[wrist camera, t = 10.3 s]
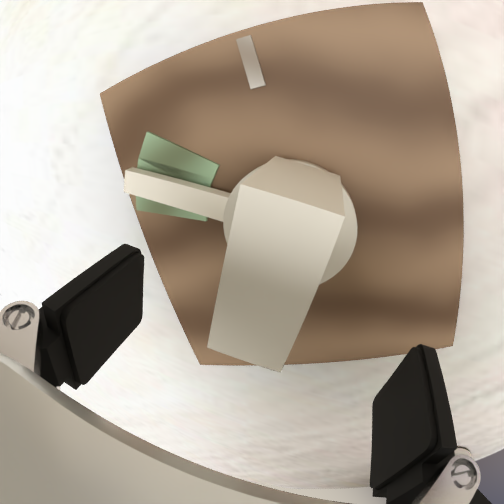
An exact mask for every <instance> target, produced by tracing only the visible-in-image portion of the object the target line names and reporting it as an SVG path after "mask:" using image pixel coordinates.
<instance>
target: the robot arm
mask: <svg viewBox="0 0 504 504" xmlns="http://www.w3.org/2000/svg"><path fill="white" fill-rule="evenodd" d="M143 274H144V256H143V255H142V254H141V251H140V249H138V248H135V247H133V246H130V245H128V244H123V245H121V246H120V247H118V248H117V249H115V250H114V251H113V252H111V253H110V254H108V255H107V256H105V257H104V258H102V259H101V260H100V261H98V262H97V263H95V264H94V265H92V266H91V267H90V268H88V269H87V270H85V271H84V272H83V273H81V274H80V275H78V276H77V277H76V278H74V279H73V280H72V281H70V282H69V283H67V284H66V285H65V286H63V287H62V288H61V289H59V290H58V291H57V292H55V293H54V294H53V295H51V296H50V297H49V298H47V299H46V300H45V301H44V302H42V307H41V308H40V309H39V310H38V308H37V307H36V306H35V305H34V304H33V303H30V302H28V301H16V302H13V303H10V304H9V305H7V306H5V307H4V308H3V309H2V310H1V312H0V504H349V503H342V502H335V501H329V500H323V499H317V498H312V497H307V496H301V495H297V494H293V493H289V492H284V491H280V490H276V489H272V488H268V487H265V486H261V485H258V484H254V483H251V482H247V481H244V480H241V479H238V478H235V477H232V476H229V475H226V474H223V473H220V472H217V471H214V470H212V469H209V468H206V467H204V466H201V465H199V464H196V463H194V462H191V461H189V460H186V459H184V458H181V457H179V456H177V455H174V454H172V453H170V452H168V451H166V450H163V449H161V448H159V447H157V446H155V445H153V444H151V443H149V442H147V441H145V440H143V439H141V438H139V437H137V436H135V435H133V434H131V433H129V432H127V431H125V430H123V429H122V428H120V427H118V426H116V425H114V424H113V423H111V422H109V421H107V420H106V419H104V418H102V417H101V416H99V415H97V414H96V413H94V412H92V411H91V410H89V409H88V408H86V407H84V406H83V405H81V404H80V403H78V402H77V401H75V400H73V399H72V398H70V397H69V396H67V395H66V394H64V393H63V392H61V391H60V386H61V385H62V384H63V383H64V382H65V383H67V384H68V385H69V386H71V387H72V388H74V389H75V390H77V388H78V387H79V386H80V385H81V384H82V385H85V384H86V383H87V382H88V381H89V380H90V379H91V378H92V377H93V376H94V374H95V373H96V372H97V371H98V370H99V369H100V368H101V366H102V365H103V364H104V363H105V362H106V361H107V360H108V358H109V357H110V356H111V355H112V354H113V353H114V352H115V351H116V349H117V348H118V347H119V346H120V345H121V344H122V343H123V342H124V340H125V339H126V338H127V337H128V336H129V335H130V334H131V333H132V332H133V330H134V329H135V328H136V327H137V326H138V325H139V324H140V322H141V319H142V312H143ZM480 476H481V474H480V470H479V467H478V465H477V463H476V462H475V461H474V460H473V459H472V458H471V453H470V452H469V451H468V450H466V449H463V448H457V443H456V437H455V431H454V425H453V420H452V415H451V410H450V405H449V401H448V396H447V392H446V388H445V383H444V379H443V375H442V371H441V368H440V364H439V360H438V357H437V353H436V350H435V348H433V347H429V346H426V345H422V344H419V345H417V346H416V347H412V348H411V349H410V351H409V352H408V354H407V355H406V356H405V358H404V359H403V361H402V362H401V364H400V365H399V366H398V368H397V369H396V370H395V372H394V373H393V374H392V376H391V377H390V378H389V380H388V381H387V382H386V384H385V385H384V386H383V388H382V389H381V390H380V391H379V393H378V394H377V395H376V397H375V398H374V401H373V406H372V455H371V473H370V487H371V488H373V497H386V498H387V500H386V504H491V502H490V501H488V500H487V498H486V497H485V496H484V495H483V494H482V493H481V492H480V491H479V490H478V489H477V488H478V486H479V483H480Z"/></svg>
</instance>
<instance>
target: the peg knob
mask: <svg viewBox="0 0 504 504" xmlns="http://www.w3.org/2000/svg"><path fill="white" fill-rule="evenodd" d="M124 192H125V193H128V194H132V195H135V196H139V197H142V198H145V199H149V200H152V201H156V202H159V203H162V204H166V205H169V206H172V207H176V208H179V209H182V210H186V211H189V212H192V213H196V214H199V215H202V216H205V217H209V218H212V219H215V220H218V221H222V222H223V228H224V235H225V238H226V242H227V249H226V254H225V259H224V264H223V268H222V273H221V278H220V283H219V288H218V293H217V298H216V303H215V308H214V314H213V319H212V324H211V329H210V334H209V340H208V345H207V348H210V349H212V350H215V351H218V352H220V353H223V354H226V355H229V356H232V357H234V358H237V359H240V360H243V361H246V362H249V363H252V364H255V365H258V366H261V367H264V368H267V369H270V370H274V371H277V372H281V370H282V368H283V366H284V364H285V362H286V359H287V357H288V355H289V353H290V351H291V349H292V346H293V344H294V342H295V340H296V338H297V335H298V333H299V331H300V328H301V326H302V324H303V322H304V319H305V317H306V315H307V312H308V310H309V308H310V305H311V303H312V300H313V298H314V296H315V293H316V291H317V288H318V286H319V284H321V283H323V282H325V281H327V280H329V279H330V278H332V277H333V276H335V275H336V274H337V273H338V272H339V271H340V270H341V269H342V268H343V267H344V266H345V265H346V263H347V262H348V260H349V259H350V257H351V255H352V253H353V250H354V247H355V244H356V239H357V219H356V213H355V209H354V206H353V202H352V200H351V198H350V195H349V194H348V192H347V190H346V189H345V187H344V186H343V185H342V184H341V178H340V175H337V174H334V173H331V172H328V171H327V170H326V169H324V168H322V167H320V166H318V165H316V164H313V163H310V162H307V161H303V160H295V159H285V158H281V157H278V156H275V157H273V158H272V159H271V160H270V161H268V162H267V163H266V164H264V165H262V166H260V167H258V168H256V169H255V170H253V171H252V172H250V173H249V174H248V175H246V176H245V177H244V178H243V179H242V180H241V181H240V182H239V183H238V184H237V185H236V186H235V188H234V189H233V191H232V192H231V193H228V192H225V191H221V190H218V189H214V188H210V187H207V186H203V185H200V184H196V183H192V182H189V181H185V180H181V179H177V178H173V177H170V176H166V175H162V174H158V173H154V172H150V171H146V170H142V169H138V168H134V167H132V168H129V169H127V170H125V180H124Z"/></svg>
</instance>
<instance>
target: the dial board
mask: <svg viewBox="0 0 504 504" xmlns="http://www.w3.org/2000/svg"><path fill="white" fill-rule="evenodd" d="M100 96H101V100H102V104H103V108H104V112H105V116H106V120H107V123H108V127H109V130H110V134H111V137H112V141H113V144H114V148H115V151H116V154H117V158H118V161H119V164H120V167H121V170H122V174H123V177H124V180H125V170H127V169H129V168H132V167H134V168H138V169H142V170H146V171H150V172H154V173H158V174H162V175H166V176H170V177H173V178H177V179H181V180H185V181H189V182H192V183H196V184H200V185H203V186H207V187H210V188H214V189H218V190H221V191H225V192H228V193H231V192H232V191H233V189H234V188H235V186H236V185H237V184H238V183H239V182H240V181H241V180H242V179H243V178H244V177H245V176H246V175H248V174H249V173H250V172H252V171H253V170H255V169H256V168H258V167H260V166H262V165H264V164H266V163H267V162H268V161H270V160H271V159H272V158H273V157H275V156H278V157H281V158H285V159H295V160H303V161H307V162H310V163H313V164H316V165H318V166H320V167H322V168H324V169H326V170H327V171H328V172H331V173H334V174H337V175H340V178H341V184H342V185H343V186H344V187H345V189H346V190H347V192H348V194H349V195H350V198H351V200H352V202H353V206H354V209H355V213H356V219H357V239H356V244H355V247H354V250H353V253H352V255H351V257H350V259H349V260H348V262H347V263H346V265H345V266H344V267H343V268H342V269H341V270H340V271H339V272H338V273H337V274H336V275H335V276H333V277H332V278H330V279H329V280H327V281H325V282H323V283H321V284H319V286H318V288H317V291H316V293H315V296H314V298H313V300H312V303H311V305H310V308H309V310H308V312H307V315H306V317H305V319H304V322H303V324H302V326H301V328H300V331H299V333H298V335H297V338H296V340H295V342H294V344H293V346H292V349H291V351H290V353H289V355H288V357H287V359H286V362H285V364H284V365H288V364H309V363H325V362H338V361H350V360H360V359H370V358H378V357H387V356H394V355H401V354H408V352H409V351H410V349H411V348H412V347H416V346H417V345H419V344H422V345H426V346H429V347H433V348H435V349H439V348H444V347H450V346H453V341H454V336H455V329H456V323H457V316H458V308H459V299H460V290H461V278H462V263H463V190H462V175H461V164H460V154H459V146H458V138H457V131H456V125H455V118H454V113H453V107H452V102H451V97H450V92H449V88H448V83H447V79H446V75H445V71H444V67H443V63H442V60H441V56H440V53H439V49H438V46H437V43H436V39H435V36H434V33H433V30H432V27H431V24H430V21H429V19H428V16H427V13H426V11H425V8H424V5H423V3H422V2H408V3H384V4H371V5H361V6H352V7H344V8H337V9H330V10H324V11H318V12H313V13H308V14H303V15H298V16H293V17H289V18H285V19H281V20H277V21H273V22H269V23H265V24H261V25H258V26H254V27H251V28H248V29H244V30H241V31H238V32H235V33H232V34H229V35H226V36H223V37H220V38H217V39H214V40H212V41H209V42H206V43H204V44H201V45H198V46H196V47H193V48H191V49H188V50H186V51H184V52H181V53H179V54H176V55H174V56H172V57H170V58H167V59H165V60H163V61H161V62H159V63H157V64H154V65H152V66H150V67H148V68H146V69H144V70H142V71H140V72H138V73H136V74H134V75H132V76H130V77H129V78H127V79H125V80H123V81H121V82H119V83H117V84H116V85H114V86H112V87H110V88H109V89H107V90H105V91H103V92H102V93H100ZM129 195H130V198H131V201H132V204H133V206H134V209H135V212H136V215H137V218H138V220H139V223H140V226H141V229H142V231H143V234H144V237H145V239H146V242H147V245H148V247H149V250H150V252H151V255H152V257H153V260H154V262H155V265H156V267H157V270H158V272H159V275H160V277H161V280H162V282H163V284H164V287H165V289H166V292H167V294H168V296H169V299H170V301H171V303H172V305H173V308H174V310H175V312H176V314H177V317H178V319H179V321H180V323H181V325H182V328H183V330H184V332H185V334H186V336H187V338H188V341H189V343H190V345H191V347H192V349H193V351H194V353H195V355H196V357H197V359H198V361H199V363H200V365H255V364H252V363H249V362H246V361H243V360H240V359H237V358H234V357H232V356H229V355H226V354H223V353H220V352H218V351H215V350H212V349H210V348H207V345H208V340H209V334H210V329H211V324H212V319H213V314H214V308H215V303H216V298H217V293H218V288H219V283H220V278H221V273H222V268H223V264H224V259H225V254H226V249H227V242H226V238H225V235H224V228H223V222H222V221H218V220H215V219H212V218H209V217H205V216H202V215H199V214H196V213H192V212H189V211H186V210H182V209H179V208H176V207H172V206H169V205H166V204H162V203H159V202H156V201H152V200H149V199H145V198H142V197H139V196H135V195H132V194H129Z"/></svg>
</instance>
